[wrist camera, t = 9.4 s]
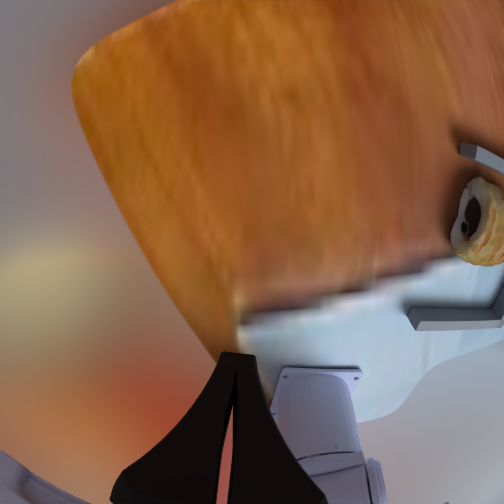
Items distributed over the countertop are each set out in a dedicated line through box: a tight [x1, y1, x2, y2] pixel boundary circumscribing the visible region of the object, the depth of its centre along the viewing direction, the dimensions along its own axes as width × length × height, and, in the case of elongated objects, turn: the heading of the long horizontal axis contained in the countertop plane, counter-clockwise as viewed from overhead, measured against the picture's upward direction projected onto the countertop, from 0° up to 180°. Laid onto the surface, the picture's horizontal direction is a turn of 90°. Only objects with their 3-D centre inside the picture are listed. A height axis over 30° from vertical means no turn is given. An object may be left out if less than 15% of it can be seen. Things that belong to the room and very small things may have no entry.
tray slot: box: [407, 142, 504, 331], centre depth 17 cm, size 15×13×2 cm
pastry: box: [451, 177, 504, 266], centre depth 16 cm, size 9×7×4 cm
